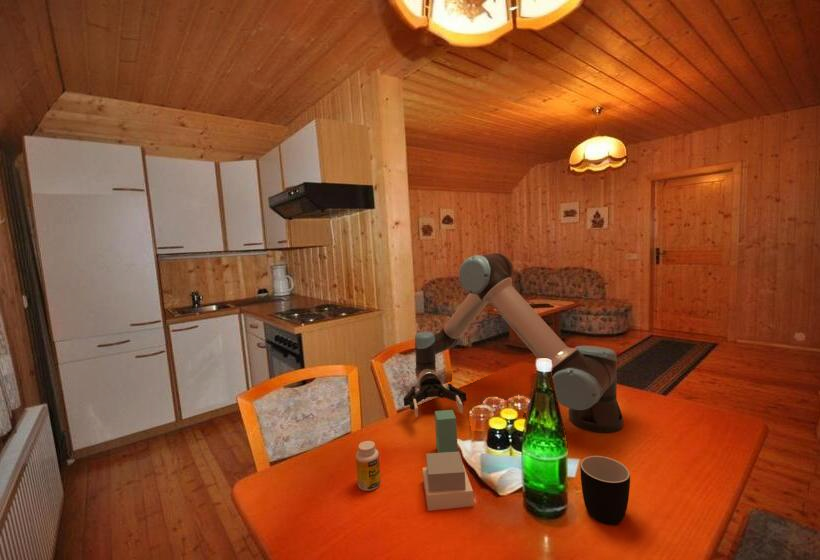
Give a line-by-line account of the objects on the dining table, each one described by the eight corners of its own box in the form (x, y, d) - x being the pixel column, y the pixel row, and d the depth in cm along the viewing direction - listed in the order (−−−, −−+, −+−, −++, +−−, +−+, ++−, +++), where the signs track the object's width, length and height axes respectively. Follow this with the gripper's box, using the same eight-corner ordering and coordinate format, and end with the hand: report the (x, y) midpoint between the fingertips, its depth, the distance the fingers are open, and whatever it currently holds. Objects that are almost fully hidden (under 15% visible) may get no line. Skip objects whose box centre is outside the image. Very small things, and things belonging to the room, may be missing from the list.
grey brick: (460, 467, 89) (459, 451, 89) (465, 489, 81) (464, 472, 81) (427, 469, 89) (426, 453, 89) (429, 491, 81) (428, 474, 81)
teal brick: (454, 446, 104) (452, 409, 103) (457, 457, 99) (456, 418, 98) (436, 448, 104) (434, 411, 103) (439, 459, 99) (437, 419, 98)
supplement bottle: (370, 495, 86) (367, 454, 85) (353, 487, 89) (350, 447, 88) (385, 482, 91) (382, 442, 90) (368, 474, 94) (365, 436, 93)
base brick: (463, 479, 91) (463, 463, 90) (473, 507, 81) (472, 490, 80) (423, 483, 90) (422, 467, 90) (428, 512, 80) (427, 495, 80)
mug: (639, 529, 72) (640, 480, 71) (594, 533, 72) (594, 484, 71) (605, 488, 84) (605, 446, 83) (566, 491, 84) (566, 449, 83)
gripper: (464, 390, 133) (480, 418, 112) (395, 396, 131) (398, 426, 110) (463, 370, 132) (479, 395, 111) (394, 375, 130) (397, 402, 109)
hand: (439, 410), depth 111 cm, fingers open, 13 cm apart
